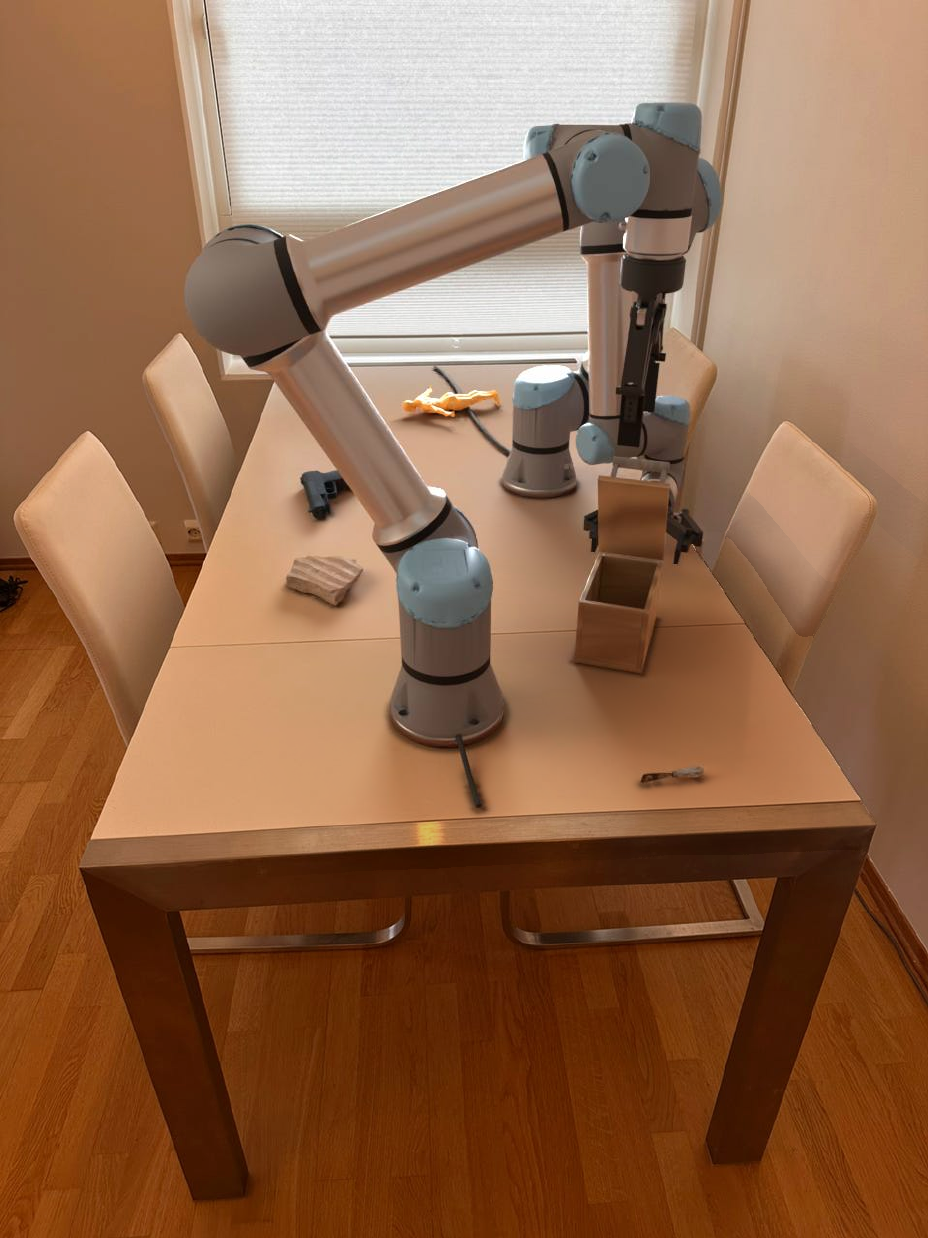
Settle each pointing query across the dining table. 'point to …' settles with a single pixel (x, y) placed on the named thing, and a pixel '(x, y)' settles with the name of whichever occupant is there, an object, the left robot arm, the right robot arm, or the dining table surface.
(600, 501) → the lid
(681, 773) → the putty knife
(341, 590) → the stone
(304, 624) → the dining table surface
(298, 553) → the dining table surface
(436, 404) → the human figure
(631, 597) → the chest
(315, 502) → the handgun
